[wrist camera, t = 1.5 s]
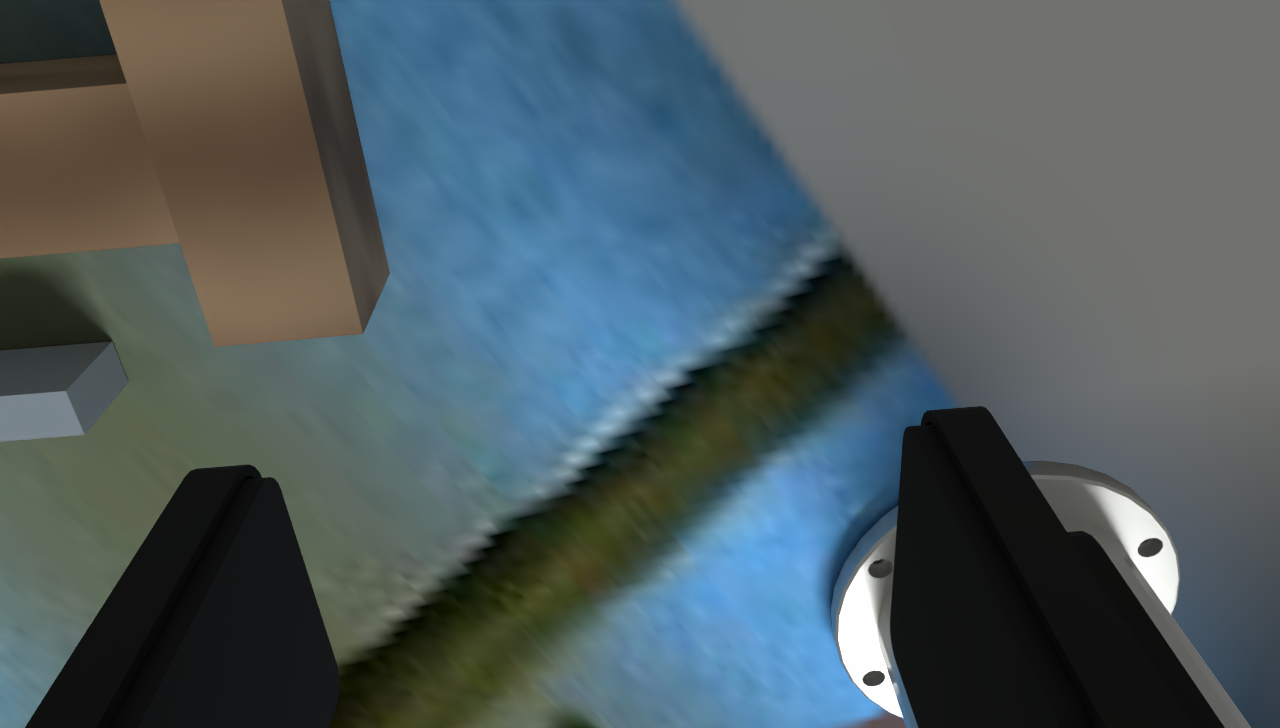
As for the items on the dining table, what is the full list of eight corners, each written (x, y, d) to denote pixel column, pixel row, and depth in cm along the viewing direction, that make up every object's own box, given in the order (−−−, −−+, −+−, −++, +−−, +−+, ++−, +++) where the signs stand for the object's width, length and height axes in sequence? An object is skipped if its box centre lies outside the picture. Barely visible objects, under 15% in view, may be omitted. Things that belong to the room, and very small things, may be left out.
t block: (389, 272, 29) (363, 333, 26) (62, 301, 29) (-9, 365, 26) (310, -88, 25) (264, -72, 21) (-84, -54, 25) (-195, -33, 21)
